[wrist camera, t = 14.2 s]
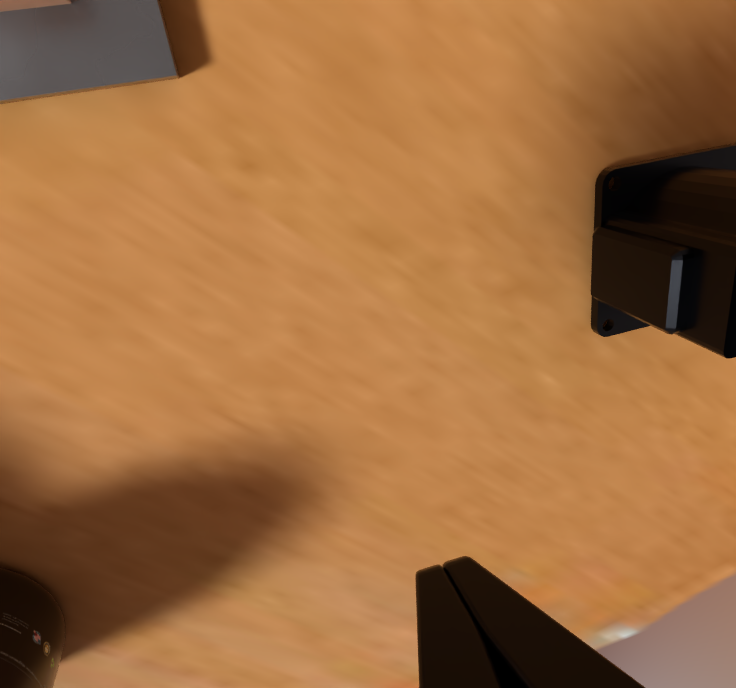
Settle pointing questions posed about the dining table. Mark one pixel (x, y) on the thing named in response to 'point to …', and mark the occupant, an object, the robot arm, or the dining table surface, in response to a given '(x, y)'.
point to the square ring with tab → (29, 4)
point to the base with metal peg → (82, 48)
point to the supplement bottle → (28, 633)
